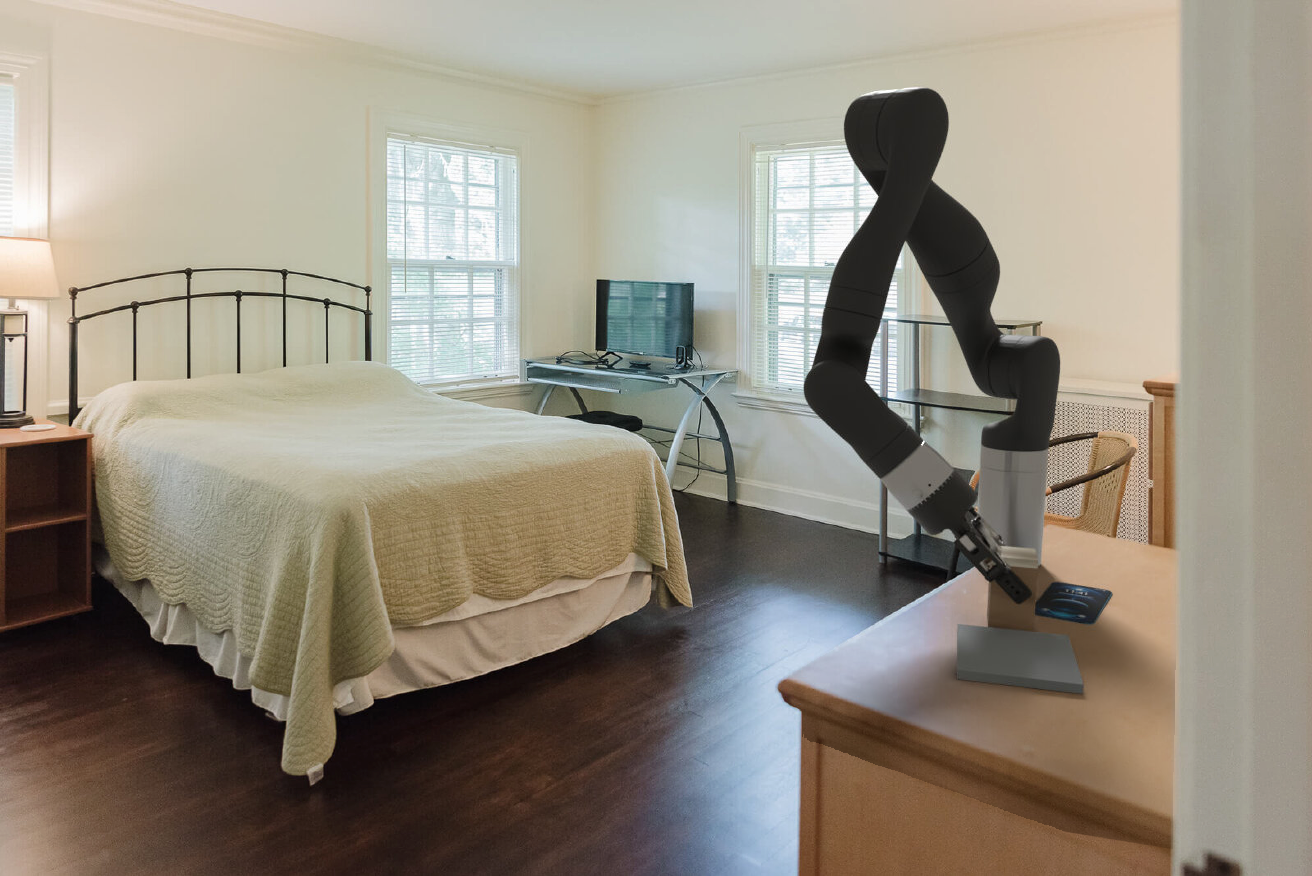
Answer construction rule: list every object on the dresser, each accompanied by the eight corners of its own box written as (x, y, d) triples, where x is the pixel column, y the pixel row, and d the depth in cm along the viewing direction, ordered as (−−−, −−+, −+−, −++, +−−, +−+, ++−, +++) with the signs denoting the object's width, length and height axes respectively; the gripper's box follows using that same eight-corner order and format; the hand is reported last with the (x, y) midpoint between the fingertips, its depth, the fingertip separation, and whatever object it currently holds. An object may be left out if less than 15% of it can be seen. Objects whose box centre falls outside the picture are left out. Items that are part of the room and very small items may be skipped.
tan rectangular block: (986, 615, 115) (991, 545, 114) (1030, 620, 114) (1035, 548, 112) (988, 629, 111) (992, 556, 109) (1033, 634, 109) (1038, 560, 108)
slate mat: (957, 631, 110) (957, 623, 110) (1067, 643, 106) (1068, 635, 106) (956, 678, 97) (957, 669, 97) (1082, 694, 93) (1083, 684, 93)
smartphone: (1026, 612, 116) (1052, 580, 128) (1026, 617, 116) (1052, 584, 128) (1093, 624, 112) (1113, 590, 124) (1093, 629, 112) (1113, 594, 124)
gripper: (951, 478, 105) (1055, 586, 103) (952, 457, 118) (1044, 552, 117) (900, 520, 107) (1001, 627, 106) (907, 495, 121) (996, 589, 119)
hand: (1023, 588), depth 111 cm, fingers open, 8 cm apart
